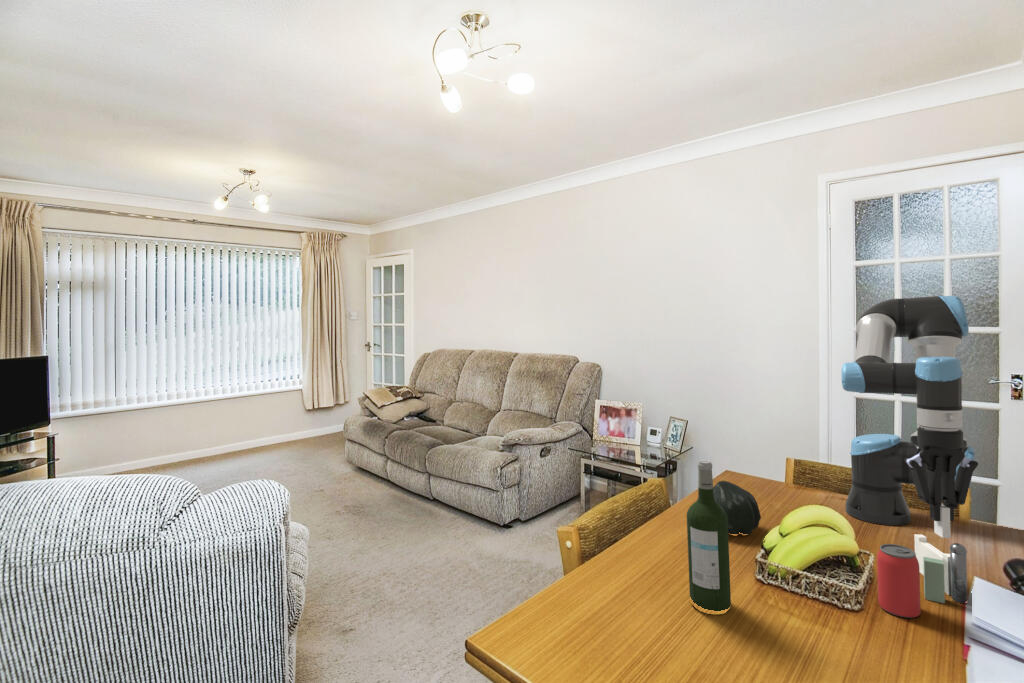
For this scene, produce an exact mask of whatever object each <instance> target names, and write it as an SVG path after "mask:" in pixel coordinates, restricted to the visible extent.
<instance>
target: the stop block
mask: <svg viewBox="0 0 1024 683" xmlns="http://www.w3.org/2000/svg"><path fill="white" fill-rule="evenodd" d="M923 565H924V575H923V587H924V588H923V592H924V593H923V595H925V596H924V599H925V600H926V599H927V600H926V601H931V602H936V603H939V604H940V603H941V604H946V597H945V596H946V595H945V594H946V593H945V588H944V563H943V560H939V559H933V558H928V557H923Z"/></svg>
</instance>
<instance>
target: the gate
mask: <svg viewBox="0 0 1024 683" xmlns="http://www.w3.org/2000/svg"><path fill="white" fill-rule="evenodd" d="M913 536H914V538H913V539H914V540H913V542H914V552H915V553H916V558H917V560H918V562H919V572H920V575H922V576H924V565H923V557H928V558H933V559H939V560H943V563H944V588H945V594H947V595H948V596H951V562H950V553H947V552H946V553H945V552H942V551H941V550H940V549H938V548H936V547H935V546H934V545H932V544H931V543H929V542H928V537H927V536H925V535H924V534H915V533H914V534H913Z"/></svg>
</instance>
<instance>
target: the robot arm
mask: <svg viewBox="0 0 1024 683" xmlns="http://www.w3.org/2000/svg"><path fill="white" fill-rule="evenodd" d="M855 331H856V334H857V344H856V347H855V353H854V354H855V355H854V360H853V361H852V362H845V363H843V364H842V366H841V385H842V389H843V390H844V391H845V392H848V393H849V392H852V393H860V394H866V393H867V394H893V395H894V394H896V395H916V397H915V398H916V428H917V430H916V431H915V432H913V433H912V434H911V435H910V441H902V439H901V437H900V436H899V435H897V434H890V433H873V434H870V433H869V434H862V435H859V436H858V435H857V436H856V437H854V438H853V439H851V442H850V444H851V445H850V452H849V454H850V456H851V457H850V458H851V487H850V489H849V492H848V495H847V498H846V501H845V505H844V506H845V512H846V513H847V514H848V515H849V516H850V517H852V518H855V519H858V520H860V521H864V522H867V523H871V524H877V525H878V524H879V525H884V526H886V525H887V526H902V525H907V524H909V523H911V519H912V518H911V515H912V514H911V510H910V508H909V506H908V503H907V501H906V498H905V497H904V494H903V489H902V488H903V484H905V485H912V486H913V485H914V486H915V490H916V493H917V496H918V499H919V500H920V501H922V502H923V503H926V504H927V505H929V518H930V519H931V520H933V522H934V523H933V528H934V529H933V530H934V532H933V533H934V534H936V535H937V536H939V537H940V538H941V539H951V538H952V536H951V534H952V532H951V522H954V521H955V509H958V508H959V505H962V506H963V505H965V504H966V500H967V497H968V493H969V489H970V486H971V483H972V477H973V472H974V471H975V470H976V469H977V467H978V466H979V462H977V461H975V454H976V453H975V452H976V451H975V448H974V447H972V446H968V443H967V442H968V441H967V439H966V437H964V432H963V431H962V430H961V429H962V428H963V424H964V423H963V383H962V382H963V380H962V379H963V371H962V370H963V369H962V365H961V364H962V363H961V360H960V358H958V357H956V347H958V346H959V345H960V344H962V343H963V338H964V337H967V336H968V335H969V333H970V331H969V324H968V316H967V312H966V308H965V305H964V302H963V300H962V299H961V297H959V296H955V295H936V296H935V295H934V296H933V295H932V296H921V297H904V298H892V299H886V300H883V301H880V302H878V303H876V304H874V305H872V306H870V307H869V308H868V309H865V311H864V312H863V313H862V314H860V316H859V318H858V319H857V321H856V324H855ZM893 338H907V339H908V340H907V341H908V342H907V343H908V344H909V345H910V346H912V347H913V348H914V350H915V354H914V356H915V357H914V358H915V362H891V351H892V350H891V346H892V339H893Z"/></svg>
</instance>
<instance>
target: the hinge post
mask: <svg viewBox="0 0 1024 683" xmlns="http://www.w3.org/2000/svg"><path fill="white" fill-rule="evenodd" d="M967 553H968V549H967V548H966V547H965V546H964V544H961V543H958V542H955V543H951V544H950V545H949V554H950V562H951V595H950V596H951V597H950V598H952V599H953V600H954V601H953V600H952V599H951V600H952V601H953V602H955V601H956V602H955V603H958V602H959V603H958V604H962V603H964V605H965V602H966V601H967V600H968V571H967V570H968V568H967V563H968V562H967Z"/></svg>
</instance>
